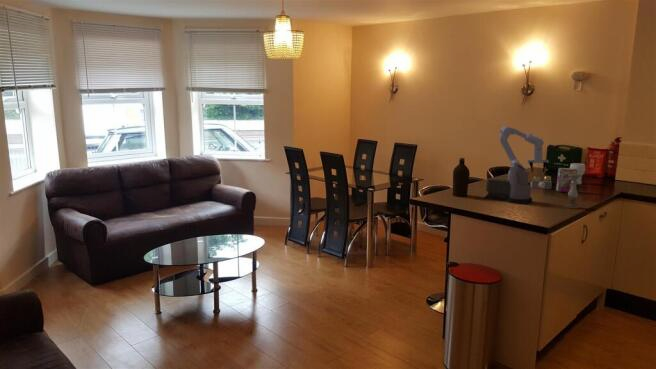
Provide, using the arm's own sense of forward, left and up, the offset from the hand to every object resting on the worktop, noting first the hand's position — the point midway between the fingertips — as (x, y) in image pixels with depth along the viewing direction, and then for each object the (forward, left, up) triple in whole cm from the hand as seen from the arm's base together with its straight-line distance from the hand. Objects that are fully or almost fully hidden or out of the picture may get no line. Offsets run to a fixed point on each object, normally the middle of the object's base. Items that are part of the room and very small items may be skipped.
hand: (537, 172), depth 383 cm
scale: (+2, -13, -9) cm, 16 cm away
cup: (+29, +12, -9) cm, 32 cm away
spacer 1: (0, 0, -9) cm, 9 cm away
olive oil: (-52, -69, -9) cm, 87 cm away
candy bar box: (+17, -27, -9) cm, 33 cm away
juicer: (-22, -72, -9) cm, 76 cm away
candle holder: (+14, -79, -9) cm, 80 cm away
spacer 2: (+8, +6, -9) cm, 13 cm away
